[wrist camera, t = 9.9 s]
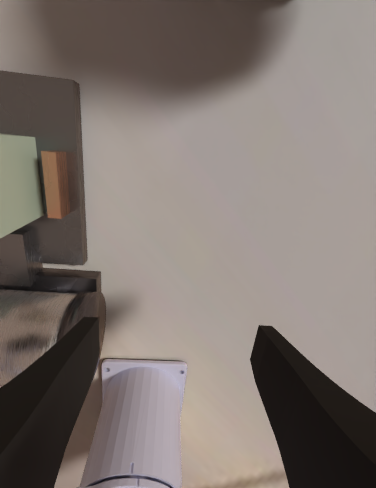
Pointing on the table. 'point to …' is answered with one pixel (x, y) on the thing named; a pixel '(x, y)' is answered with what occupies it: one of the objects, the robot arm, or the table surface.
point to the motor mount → (46, 227)
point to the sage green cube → (18, 183)
